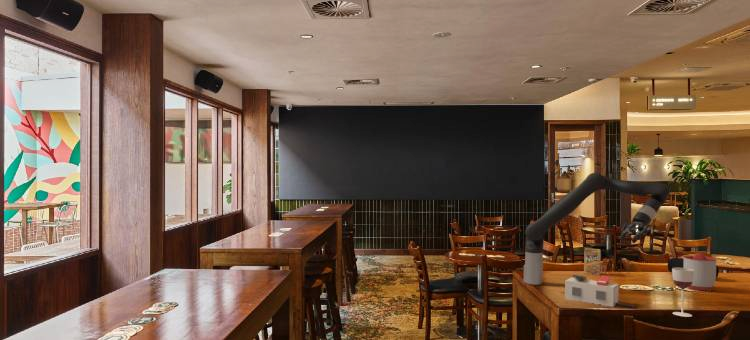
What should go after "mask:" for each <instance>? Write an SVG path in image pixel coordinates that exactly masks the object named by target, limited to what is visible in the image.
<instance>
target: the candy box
mask: <svg viewBox="0 0 750 340" xmlns="http://www.w3.org/2000/svg"><path fill="white" fill-rule="evenodd" d="M601 251H602V250H601V249H600V248H589V247H588V248H586V247H585V248H584V257H583V259H584V261H583V262H584V264H583V274H585V275H594V276H601V261H602V260H601V259H602V258H601V255H602V252H601Z"/></svg>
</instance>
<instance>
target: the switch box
mask: <svg viewBox="0 0 750 340" xmlns="http://www.w3.org/2000/svg"><path fill="white" fill-rule="evenodd" d="M597 281H598V280H594V279H593V280H592V279H587V280H586V279H584V281H582V280H575V277H573V276H572V277H569V278H568V279H565V280H564V300H568V301H574V300H575V301H574V302H580V301H581V302H582V303H586V302H587V303H588V304H592V303H594V305H599V304H601V305H600V306H604V307H605V306H606V307H615V306H620V307H621V306H623V307H628V308H633V309H635V305H634V304H629V303H620V302H619V283H615V282H609V283H608V284H607V285H606V286H604V285H597ZM587 303H586V304H587Z"/></svg>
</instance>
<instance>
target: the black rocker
mask: <svg viewBox="0 0 750 340" xmlns="http://www.w3.org/2000/svg"><path fill="white" fill-rule="evenodd" d="M572 278H575V280H582V281H584V279H586V280H588V278H587V276H583V275H580V274H572Z"/></svg>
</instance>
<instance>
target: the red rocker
mask: <svg viewBox="0 0 750 340" xmlns="http://www.w3.org/2000/svg"><path fill="white" fill-rule="evenodd" d="M610 279H611V276H610V275H602V274H600V277H599V279H597V280H596V281H597V285H604V286H606V285H607V284H608V283H610Z"/></svg>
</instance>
